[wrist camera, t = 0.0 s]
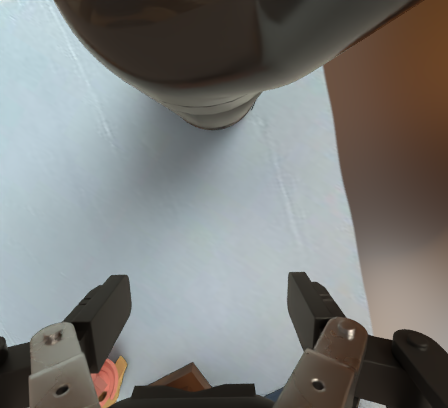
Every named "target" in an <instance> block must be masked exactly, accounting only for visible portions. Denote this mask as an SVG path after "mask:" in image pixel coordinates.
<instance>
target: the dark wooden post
mask: <svg viewBox="0 0 448 408" xmlns="http://www.w3.org/2000/svg"><path fill="white" fill-rule="evenodd" d="M155 385H165V386H169V387H173V388H178V389H182V390H186V391H190V392H197V391H201V390H205V389H209V388H212V387H211V386H210V384H209V383H208V382H207V380H206V379H205V378H204V376H203V375H202V374H201V372H200V371H199V370H198V368H197V367H196V366H195V364H194V363H193V362H192V363H191V364H189V365H187V366H185V367H183V368H181V369H179V370H177V371H175V372H173V373H171V374H169V375H167V376H165V377H163V378H161V379H159V380H157V381H156V382H154V383H152V384H150V385H148V386H155Z"/></svg>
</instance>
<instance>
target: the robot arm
mask: <svg viewBox="0 0 448 408" xmlns="http://www.w3.org/2000/svg"><path fill="white" fill-rule="evenodd" d="M422 1H424V0H54V2H55V4H56V6H57V8H58V9H59V11H60V13H61V15H62V16H63V18H64V20H65V21H66V23H67V24H68V26H69V27H70V29H71V30H72V32H73V33H74V34H75V36H76V37H77V38H78V39H79V41H80V42H81V43H82V44H83V45H84V47H85V48H86V49H87V50H88V51H89V52H90V53H91V54H92V55H93V56H94V57H95V58H96V59H97V60H98V61H99V62H100V63H101V64H103V65H104V66H105V67H106V68H107V69H108V70H110V71H111V72H112V73H114V74H115V75H116V76H118V77H119V78H121V79H122V80H123V81H125V82H126V83H128V84H129V85H131V86H133V87H134V88H136V89H137V90H139V91H141V92H142V93H144V94H145V95H147V96H148V97H150V98H151V99H153V100H155V101H156V102H158V103H159V104H161V105H163V106H164V107H166V108H168V109H169V110H171V111H172V112H174V113H175V114H177V115H178V116H180V117H181V118H182V119H183V120H185V121H186V122H187V123H189V124H191V125H193V126H195V127H197V128H200V129H204V130H220V129H225V128H227V127H230V126H232V125H234V124H236V123H237V122H238V121H240V120H241V119H242V118H243V117H244V116H245V115H246V114H247V113H248V111H249V110H250V108H251V107H252V105H253V106H254V104H255V101H256V99H257V98H258V97H259V95H260V94H261V93H262V92H263V91H267V90H271V89H275V88H279V87H282V86H285V85H288V84H290V83H293V82H295V81H297V80H299V79H301V78H303V77H304V76H306V75H308V74H310V73H311V72H313V71H314V70H316V69H317V68H319V67H321V66H322V65H324V64H325V63H327V62H328V61H330V60H332V59H333V58H335V57H336V56H338V55H339V54H341V53H343V52H344V51H346V50H347V49H349V48H350V47H352V46H354V45H355V44H357V43H358V42H360V41H362V40H363V39H365V38H366V37H368V36H369V35H371V34H372V33H374V32H375V31H377V30H379V29H380V28H382V27H383V26H385V25H386V24H388V23H390V22H391V21H393V20H394V19H396V18H397V17H399V16H400V15H402V14H404V13H405V12H407V11H408V10H410V9H411V8H413V7H415V6H416V5H418V4H419V3H421V2H422ZM253 103H254V104H253ZM252 109H253V107H252ZM252 109H251V110H252ZM287 306H288V312H289V315H290V317H291V320H292V323H293V325H294V328H295V330H296V333H297V335H298V338H299V341H300V343H301V346H302V348H303V351H304V353H303V355H302V357H301V358H300V360H299V362H298V364H297V365H296V367H295V369H294V371H293V372H292V374H291V376H290V378H289V379H288V381H287V383H286V385H285V386H284V388H283V390H282V392H281V393H280V395H279V397H278V399H277V401H276V402H274V401H272V400H270V399H268V398H265V397H263V396H259V395H256V393H255V385H254V384H224V385H220V386H216V387H212V388H209V389H205V390H201V391H197V392H190V391H186V390H182V389H178V388H173V387H169V386H165V385H155V386H135V387H134V390H133V393H132V396H131V397H130V398H126V399H124V400H121V401H119V402H117V403H114V404H112V405H111V406H109V407H107V408H358V405H359V401H360V398H361V399H365V400H368V401H372V402H375V403H379V404H383V405H386V407H387V408H448V354H447V352H446V351H445V350H444V349H443V348H442V347H441V346H440V345H439V344H438V343H437V342H435V341H434V340H433V339H431V338H430V337H428V336H426V335H424V334H422V333H419V332H416V331H413V330H406V329H404V330H403V329H402V330H398V331H396V332H395V333H394V335H393V340H389V339H384V338H379V337H374V336H371V335H368V333H367V331H366V329H365V328H364V327H363V326H362V325H361V324H359V323H358V322H356V321H354V320H351V319H348V318H346V316H345V315H344V314H343V312H342V311H341V309H340V308H339V307H338V305H337V304H336V302H335V301H334V300H333V298H332V297H331V296H330V294H329V293H328V291H327V290H326V288H325V287H323V286H322V285H320V284H319V283H318V282H311V281H310V279H309V278H308V276H307V274H306V273H305V272H289V275H288V294H287ZM131 307H132V302H131V293H130V284H129V277H128V276H127V275H111V276H110V277H109V278H108V279H107V280H106V282H105V283H104V284H103V285H99V286H98V287H96V288H94V289H93V290H91V291H90V292H89V293H88V294H87V295H86V296H85V297H84V299H83V300H82V301H81V302H80V303H79V304H78V305H77V306H76V307H75V308H74V309H73V311H72V312H71V313H70V314H69V315H68V316H67V317H66V318H65V319H64V321H63V322H61V323H56V324H52V325H50V326H47V327H45V328H43V329H42V330H40V331H39V332H37V333H36V334H35V335H34V336H33V337H32V339H31V341H30V342H28V343H24V344H20V345H15V346H11V347H7V344H6V340H5V338H3V337H0V408H28V407H30V408H101V406H100V403H99V400H98V396H97V393H96V390H95V387H94V384H93V380H92V377H91V374H98V373H99V372H100V370H101V368H102V366H103V364H104V362H105V361H106V359H107V357H108V355H109V353H110V351H111V349H112V348H113V346H114V344H115V342H116V340H117V338H118V336H119V335H120V333H121V331H122V329H123V327H124V325H125V323H126V322H127V320H128V318H129V316H130V313H131Z"/></svg>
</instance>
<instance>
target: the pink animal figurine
mask: <svg viewBox="0 0 448 408" xmlns="http://www.w3.org/2000/svg"><path fill="white" fill-rule="evenodd" d="M126 367H127V363H126V361H125V360H124V359H123V357H121V356H120V357H119V359H118V360H117V361H116V363H115V364H114V363H113V362H112V361H111V360H109V359H106V361H105V362H104V364H103V366H102V368H101V370H100V372H99V373H98V374H91V377H92V380H93V384H94V387H95V390H96V393H97V396H98V400H99V403H100V406H101V408H107V407H109V406H111V405H112V404H114V403H115V402H116V400H117V398H118V396H119V391H120V386H121V383H122V379H123V375H124V372H125V370H126Z"/></svg>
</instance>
